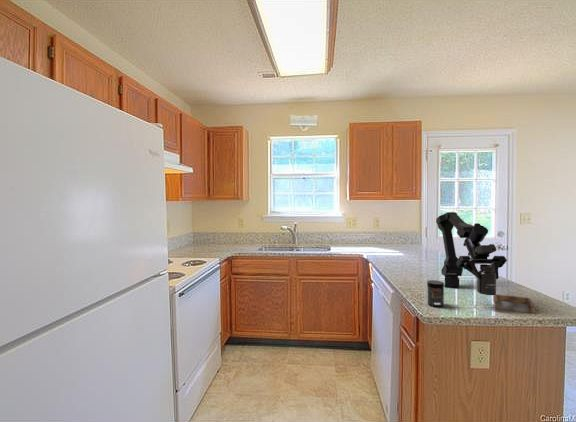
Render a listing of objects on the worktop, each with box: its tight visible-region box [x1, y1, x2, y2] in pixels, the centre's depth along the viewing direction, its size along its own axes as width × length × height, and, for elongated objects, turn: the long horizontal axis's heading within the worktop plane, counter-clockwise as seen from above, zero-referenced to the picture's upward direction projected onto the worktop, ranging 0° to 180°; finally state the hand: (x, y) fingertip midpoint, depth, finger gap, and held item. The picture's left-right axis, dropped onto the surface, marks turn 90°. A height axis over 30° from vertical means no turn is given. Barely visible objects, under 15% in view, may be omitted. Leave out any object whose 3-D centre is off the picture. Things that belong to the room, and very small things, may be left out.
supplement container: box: [426, 279, 445, 308], centre depth 131 cm, size 7×7×10 cm
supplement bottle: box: [476, 264, 497, 296], centre depth 125 cm, size 7×7×12 cm
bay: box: [492, 293, 536, 315], centre depth 127 cm, size 13×12×3 cm
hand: (488, 278), depth 124 cm, fingers closed on supplement bottle, 7 cm apart
